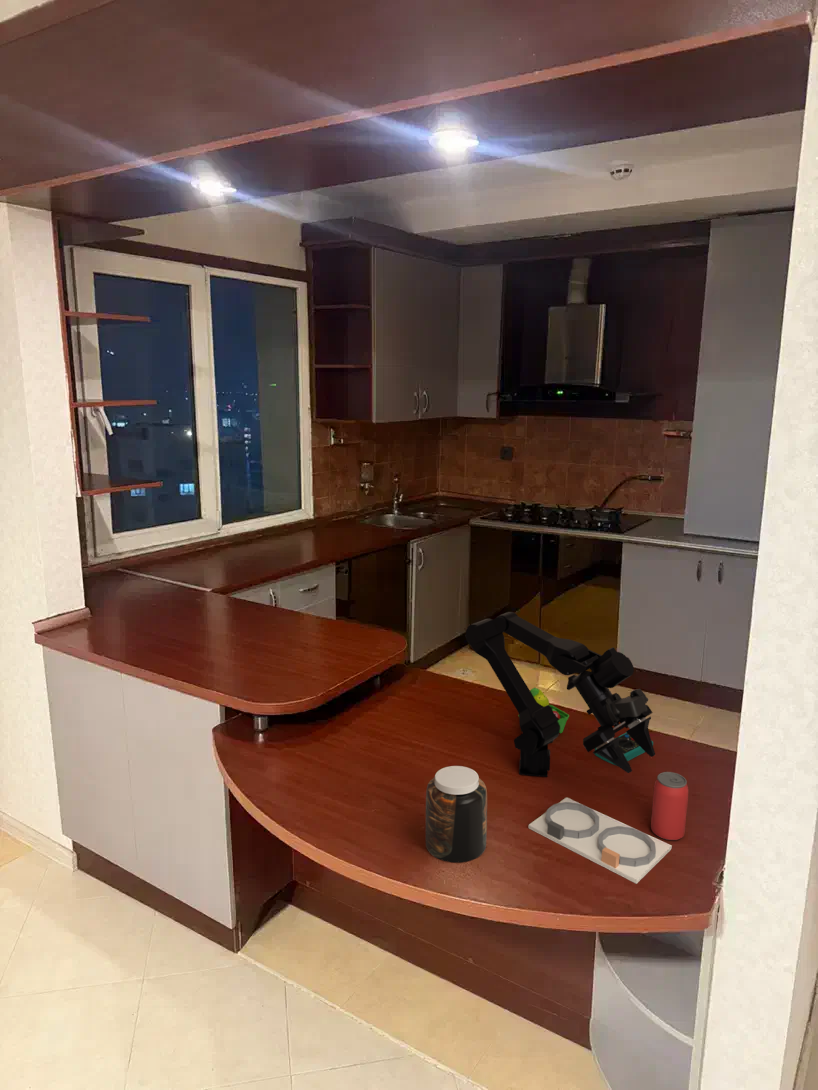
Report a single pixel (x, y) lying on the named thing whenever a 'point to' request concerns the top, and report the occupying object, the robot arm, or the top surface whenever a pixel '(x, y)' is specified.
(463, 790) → the jar
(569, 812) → the board
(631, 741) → the digital multimeter
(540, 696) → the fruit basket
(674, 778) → the beer can
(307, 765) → the top surface
